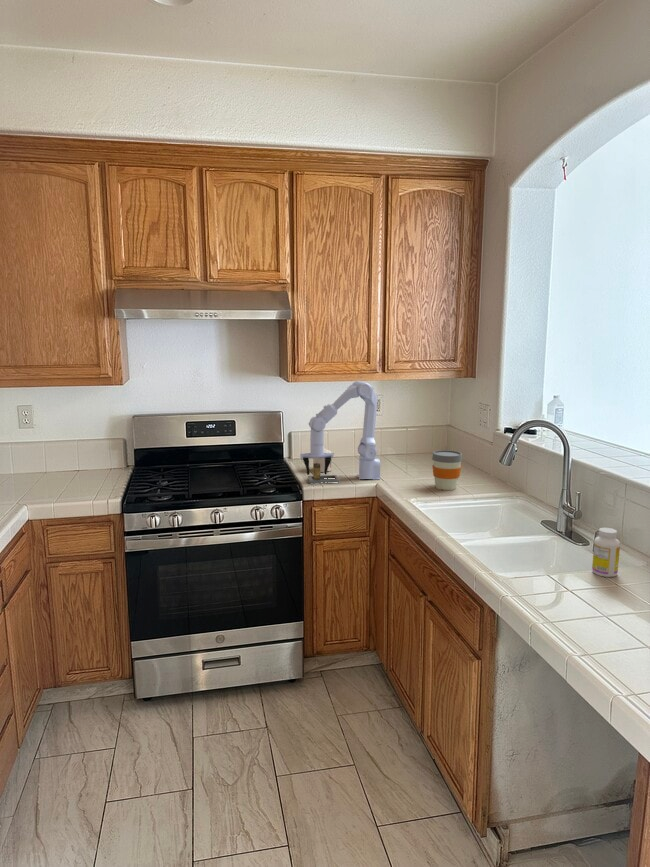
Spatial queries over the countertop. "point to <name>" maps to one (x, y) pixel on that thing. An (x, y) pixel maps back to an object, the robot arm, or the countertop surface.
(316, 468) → the peg
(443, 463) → the reusable coffee cup
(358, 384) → the robot arm
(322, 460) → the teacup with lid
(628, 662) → the countertop surface
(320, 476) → the keyhole plate
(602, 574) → the supplement bottle
